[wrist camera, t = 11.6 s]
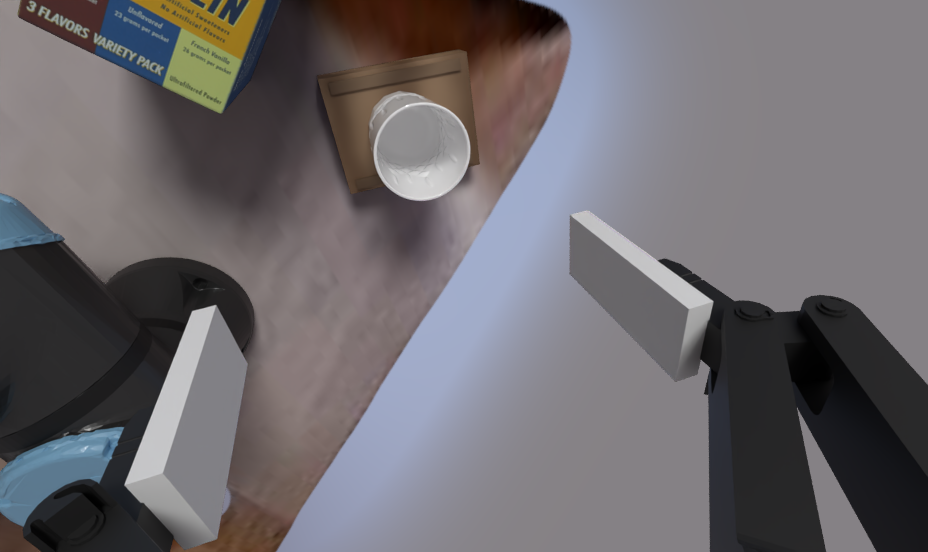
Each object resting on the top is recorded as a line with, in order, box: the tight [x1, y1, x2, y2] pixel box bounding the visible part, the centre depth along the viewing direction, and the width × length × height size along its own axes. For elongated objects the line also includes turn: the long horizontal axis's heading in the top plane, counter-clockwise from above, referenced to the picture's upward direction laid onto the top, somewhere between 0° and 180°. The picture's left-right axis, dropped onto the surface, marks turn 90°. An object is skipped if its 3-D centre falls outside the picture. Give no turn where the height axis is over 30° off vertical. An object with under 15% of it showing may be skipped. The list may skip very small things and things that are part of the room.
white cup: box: [368, 91, 470, 201], centre depth 40 cm, size 8×8×10 cm
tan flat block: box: [317, 50, 480, 194], centre depth 45 cm, size 14×11×3 cm
